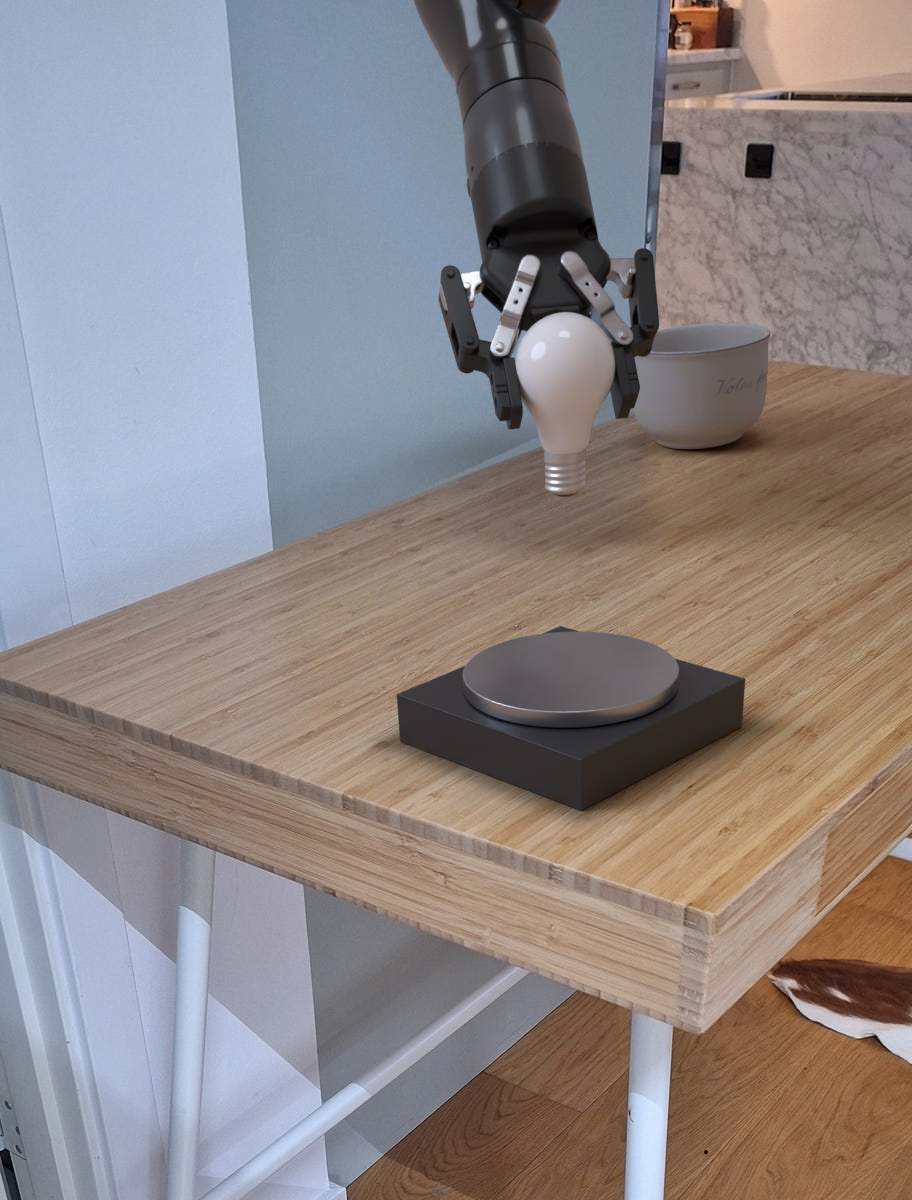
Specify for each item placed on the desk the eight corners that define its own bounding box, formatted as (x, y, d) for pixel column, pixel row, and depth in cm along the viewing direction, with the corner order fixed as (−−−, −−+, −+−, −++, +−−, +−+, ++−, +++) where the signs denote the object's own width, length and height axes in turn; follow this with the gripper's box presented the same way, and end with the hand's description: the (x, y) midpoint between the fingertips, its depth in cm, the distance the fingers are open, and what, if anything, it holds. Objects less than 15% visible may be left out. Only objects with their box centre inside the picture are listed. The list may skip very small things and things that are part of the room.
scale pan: (561, 631, 77) (561, 616, 77) (722, 678, 71) (723, 662, 70) (419, 691, 72) (418, 675, 71) (580, 747, 65) (580, 730, 65)
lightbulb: (505, 509, 95) (499, 323, 88) (531, 482, 100) (527, 303, 93) (601, 512, 93) (602, 322, 87) (623, 484, 98) (625, 302, 91)
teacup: (735, 462, 112) (743, 349, 108) (605, 452, 117) (606, 343, 112) (792, 421, 122) (801, 315, 117) (670, 412, 127) (674, 310, 122)
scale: (560, 670, 80) (560, 625, 78) (742, 726, 72) (746, 678, 71) (399, 741, 73) (395, 693, 72) (581, 811, 66) (581, 759, 64)
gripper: (421, 147, 90) (463, 391, 88) (648, 128, 92) (696, 368, 89) (414, 234, 98) (453, 462, 95) (624, 215, 99) (668, 440, 96)
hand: (570, 415), depth 92 cm, fingers closed on lightbulb, 6 cm apart
